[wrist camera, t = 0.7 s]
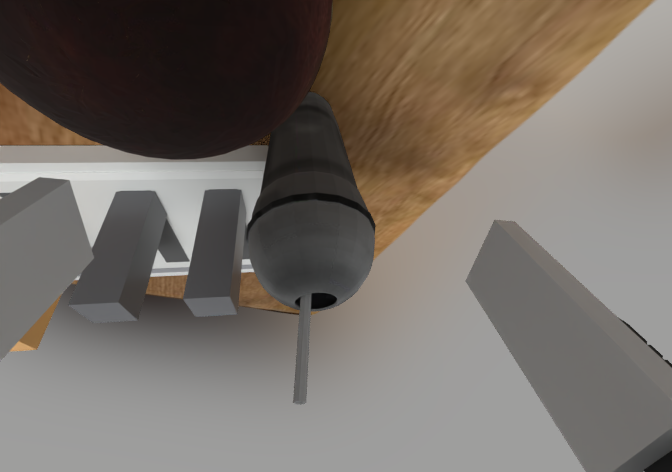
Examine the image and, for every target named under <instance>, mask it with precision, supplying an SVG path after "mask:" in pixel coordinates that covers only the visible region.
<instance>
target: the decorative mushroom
mask: <svg viewBox="0 0 672 472" xmlns="http://www.w3.org/2000/svg"><path fill="white" fill-rule="evenodd" d="M332 7H333V0H0V83H1V84H2V85H4V86H5V87H6V88H7V89H8V90H9V91H11V92H12V93H13V94H15V95H17V96H18V97H19V98H21V99H22V100H23V101H25V102H26V103H27V104H29V105H30V106H32V107H33V108H35V109H36V110H38V111H39V112H41V113H42V114H44V115H46V116H47V117H49V118H50V119H52V120H53V121H55V122H56V123H58V124H60V125H61V126H63V127H65V128H67V129H69V130H71V131H73V132H75V133H77V134H79V135H81V136H83V137H85V138H87V139H89V140H92V141H95V142H98V143H100V144H103V145H105V146H108V147H110V148H114V149H117V150H120V151H123V152H126V153H131V154H136V155H141V156H144V157H150V158H161V159H170V160H184V159H200V158H207V157H214V156H218V155H222V154H226V153H229V152H231V151H234V150H237V149H240V148H243V147H245V146H248V145H250V144H252V143H254V142H256V141H258V140H260V139H262V138H263V137H265V136H266V135H268V134H269V133H271V132H272V131H274V130H275V129H276V128H278V127H279V126H280V125H281V124H283V123H284V122H285V121H286V120H287V119H288V118H289V117H290V116H291V115H292V114H293V113H294V111H295V110H296V109H297V108H298V107H299V105H300V104H301V103H302V101H303V100H304V98H305V97H306V95H307V94H308V92H309V90H310V88H311V86H312V84H313V83H314V80H315V78H316V76H317V73H318V71H319V69H320V66H321V63H322V60H323V57H324V53H325V50H326V46H327V42H328V38H329V33H330V26H331V21H332Z"/></svg>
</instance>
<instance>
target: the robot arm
mask: <svg viewBox="0 0 672 472" xmlns="http://www.w3.org/2000/svg"><path fill="white" fill-rule="evenodd" d="M93 259H94V256H93V253H92V249H91V246H90V243H89V240H88V237H87V234H86V231H85V227H84V224H83V221H82V218H81V215H80V212H79V208H78V205H77V202H76V199H75V196H74V193H73V190H72V186H71V183H70V180H64V179H54V178H43V177H38V178H37V179H35V180H33V181H31V182H30V183H28V184H26V185H24V186H23V187H21V188H19V189H17V190H15V191H14V192H12V193H10V194H8V195H7V196H5V197H3V198H1V199H0V361H1V360H2V359H3V358H4V357H5V356H6V354H7V353H8V352H9V351H10V350H11V349H12V348H13V347H14V346H15V345H16V343H17V342H18V341H19V340H20V339H21V338H22V337H23V336H24V335H25V334H26V332H27V331H28V330H29V329H30V328H31V327H32V326H33V325H34V324H35V323H36V321H37V320H38V319H39V318H40V317H41V316H42V315H43V314H44V313H45V312H46V310H47V309H48V308H49V307H50V306H51V305H52V304H53V303H54V302H55V301H56V299H57V298H58V297H59V296H60V295H61V294H62V293H63V292H64V291H65V290H66V288H67V287H68V286H69V285H70V284H71V283H72V282H73V281H74V280H75V279H76V278H77V276H78V275H79V274H80V273H81V272H82V271H83V270H84V269H85V268H86V267H87V265H88V264H89V263H90V262H91V261H92V260H93ZM466 282H467V284H468V285H469V287H470V289H471V290H472V292H473V293H474V295H475V297H476V298H477V300H478V302H479V303H480V305H481V306H482V308H483V309H484V311H485V312H486V314H487V315H488V317H489V319H490V321H491V322H492V323H493V325H494V327H495V329H496V330H497V332H498V333H499V335H500V336H501V338H502V340H503V341H504V343H505V344H506V346H507V347H508V349H509V351H510V352H511V354H512V355H513V357H514V359H515V360H516V362H517V363H518V365H519V367H520V368H521V370H522V371H523V373H524V375H525V376H526V377H527V379H528V381H529V382H530V384H531V386H532V387H533V389H534V390H535V392H536V394H537V395H538V397H539V398H540V400H541V401H542V403H543V404H544V406H545V408H546V409H547V411H548V412H549V414H550V416H551V417H552V419H553V420H554V422H555V424H556V425H557V427H558V428H559V430H560V431H561V433H562V435H563V436H564V438H565V439H566V441H567V443H568V444H569V446H570V447H571V449H572V451H573V452H574V454H575V455H576V457H577V459H578V460H579V461H580V463H581V465H582V466H583V468H584V470H585V471H586V472H643V471H645V472H672V364H671V363H670V362H669V361H668V360H664V359H663V358H662V357H663V356H662V355H661V354H660V353H659V352H658V351H657V350H656V349H655V348H653V347H652V346H651V345H647V341H646V340H645V339H644V338H643V337H642V336H640V335H639V334H638V333H637V332H636V331H635V330H634V329H633V328H632V327H631V326H630V325H628V324H627V323H626V322H624V321H622V320H621V319H619V318H618V317H617V316H616V315H614V314H613V313H612V312H611V311H610V310H609V309H608V308H607V307H606V306H605V305H604V304H603V303H602V302H601V301H599V300H598V299H597V298H596V297H595V296H594V295H593V294H592V293H591V292H590V291H589V290H588V289H587V288H585V287H584V286H583V285H582V284H581V283H580V282H579V281H578V280H577V279H576V278H575V277H574V276H573V275H571V274H570V273H569V272H568V271H567V270H566V269H565V268H564V267H563V266H562V265H561V264H560V263H559V262H557V260H555V259H554V258H553V257H552V256H551V255H550V254H549V253H548V252H547V251H546V250H545V249H544V248H542V247H541V246H540V245H539V244H538V243H537V242H536V241H535V240H534V239H533V238H532V237H531V236H530V235H529V234H527V233H526V232H525V231H524V230H523V229H522V228H521V227H520V226H519V225H518V224H517V223H516V222H513V221H502V220H494V222H493V224H492V226H491V229H490V231H489V233H488V235H487V237H486V239H485V241H484V243H483V245H482V247H481V250H480V252H479V254H478V256H477V258H476V260H475V262H474V265H473V267H472V269H471V271H470V273H469V275H468V277H467V279H466Z"/></svg>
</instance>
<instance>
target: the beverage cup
mask: <svg viewBox="0 0 672 472" xmlns="http://www.w3.org/2000/svg"><path fill="white" fill-rule="evenodd" d="M374 235H375V223H374V221H373V218H372V216H371V214H370V213H369V212H368V210H367V207H366V205H365V203H364V201H363V199H362V197H361V195H360V192H359V190H358V189H357V186H356V182H355V179H354V176H353V173H352V169H351V166H350V163H349V160H348V156H347V153H346V150H345V147H344V143H343V140H342V137H341V134H340V131H339V127H338V124H337V122H336V119H335V117H334V115H333V111H332V109H331V107H330V104H329V103H328V102H327V101H326V100H325V99H324V98H323V97H321V96H320V95H318V94H316V93H313V92H308V94H307V95H306V97H305V98H304V100H303V101H302V103H301V104H300V105H299V107H298V108H297V109H296V110H295V111H294V113H293V114H292V115H291V116H290V117H289V118H288V119H287V120H286V121H285V122H284V123H283V124H281V125H280V126H279V127H278V128H276V129H275V130H274V131H272V132H271V136H270V141H269V147H268V153H267V158H266V164H265V170H264V175H263V181H262V187H261V192H260V196H259V197H258V199H257V201H256V204H255V207H254V210H253V213H252V219H251V220H250V222H249V223H248V225H247V233H246V240H247V244H248V246H249V257H250V262H251V264H252V267H253V270H254V272H255V274H256V276H257V278H258V280H259V282H260V283H261V285H262V286H263V288H264V289H265V290H266V291H267V292H268V293H269V294H270V295H271V296H273V297H274V298H275V299H276V300H278V301H279V302H281V303H282V304H284V305H286V306H289V307H291V308H294V309H297V310H300V313H299V328H298V342H297V357H296V372H295V385H294V400H293V403H294V404H305V403H306V394H307V375H308V374H307V373H308V355H309V334H310V314H311V311H322V310H326V309H330V308H333V307H335V306H338V305H340V304H342V303H343V302H345V301H346V300H348V299H349V298H350V297H352V296H353V295H354V294H355V293H356V292H357V291H358V289H359V288H360V286H361V285H362V284H363V282H364V281H365V279H366V278H367V276H368V274H369V272H370V269H371V266H372V262H373V256H374V244H375V238H374Z"/></svg>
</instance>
